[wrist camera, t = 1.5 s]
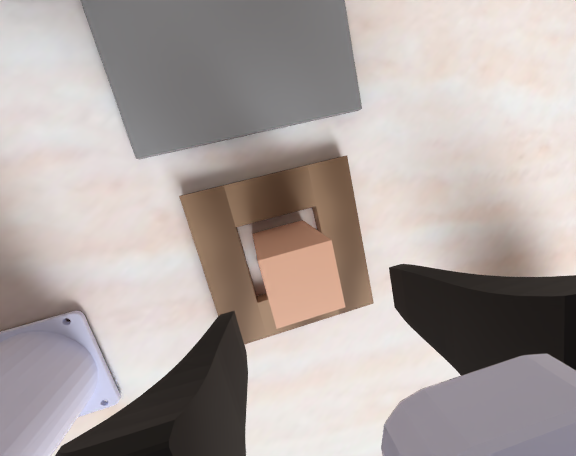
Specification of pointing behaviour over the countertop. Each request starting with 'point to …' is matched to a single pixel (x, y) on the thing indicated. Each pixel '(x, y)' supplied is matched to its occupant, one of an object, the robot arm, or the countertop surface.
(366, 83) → the countertop surface
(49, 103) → the countertop surface
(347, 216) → the walnut pocket plate
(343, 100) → the slate mat
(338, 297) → the terracotta block
